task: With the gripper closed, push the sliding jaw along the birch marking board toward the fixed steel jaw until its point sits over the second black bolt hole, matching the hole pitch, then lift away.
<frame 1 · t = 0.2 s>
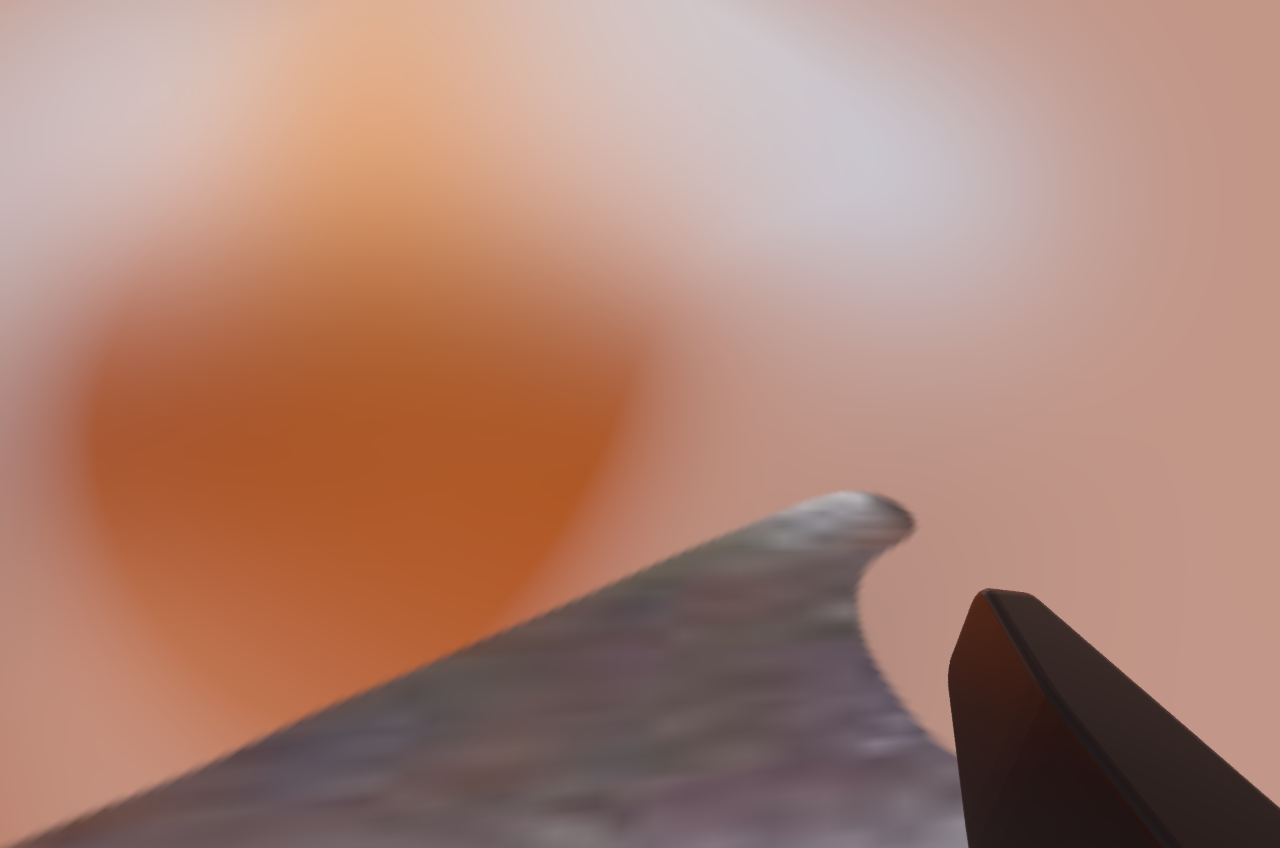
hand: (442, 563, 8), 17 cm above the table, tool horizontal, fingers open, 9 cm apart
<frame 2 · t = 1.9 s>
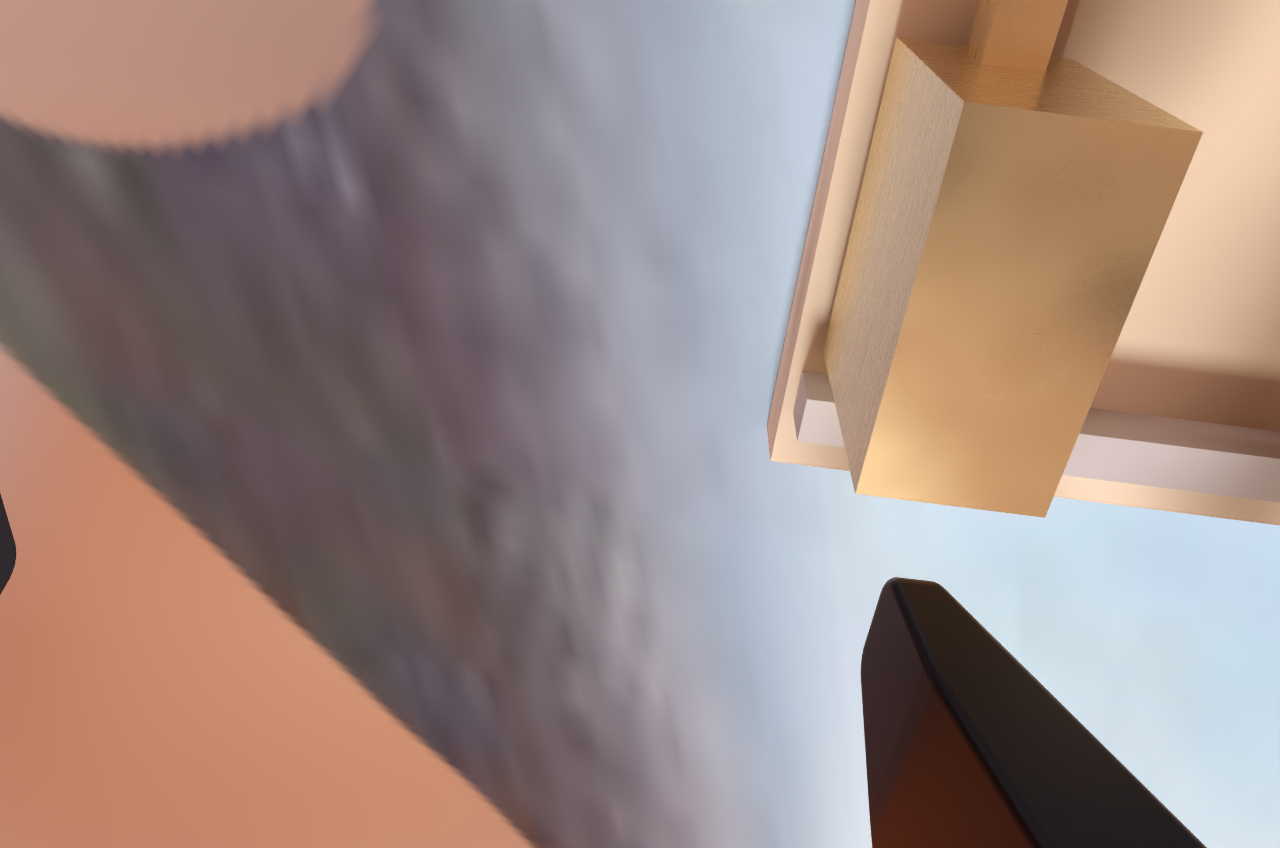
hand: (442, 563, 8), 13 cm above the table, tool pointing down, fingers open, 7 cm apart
sliding jaw: (1005, 145, 14), point 4 cm above the table, slide at 0.0 cm
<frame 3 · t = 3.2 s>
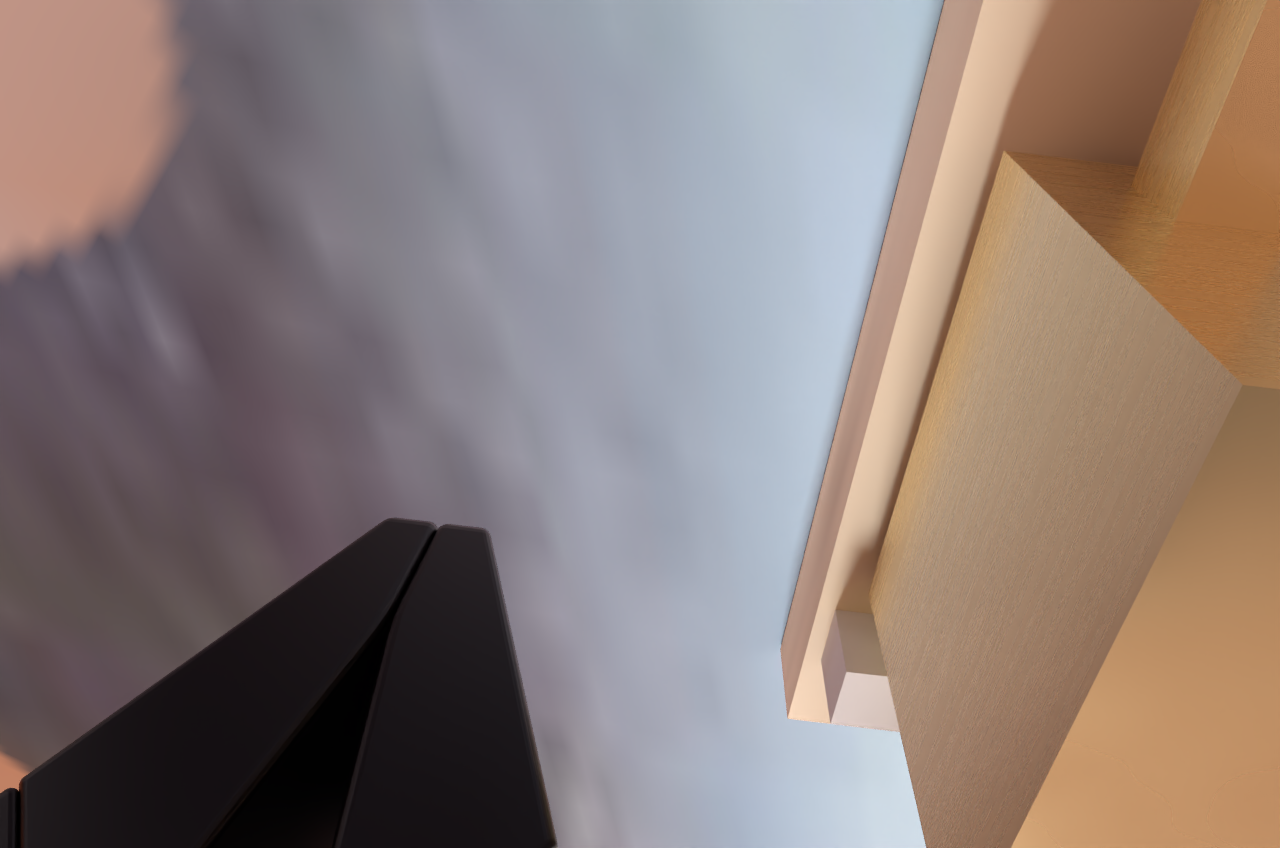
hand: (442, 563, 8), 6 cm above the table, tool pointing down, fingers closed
sliding jaw: (1221, 367, 8), point 4 cm above the table, slide at 0.0 cm
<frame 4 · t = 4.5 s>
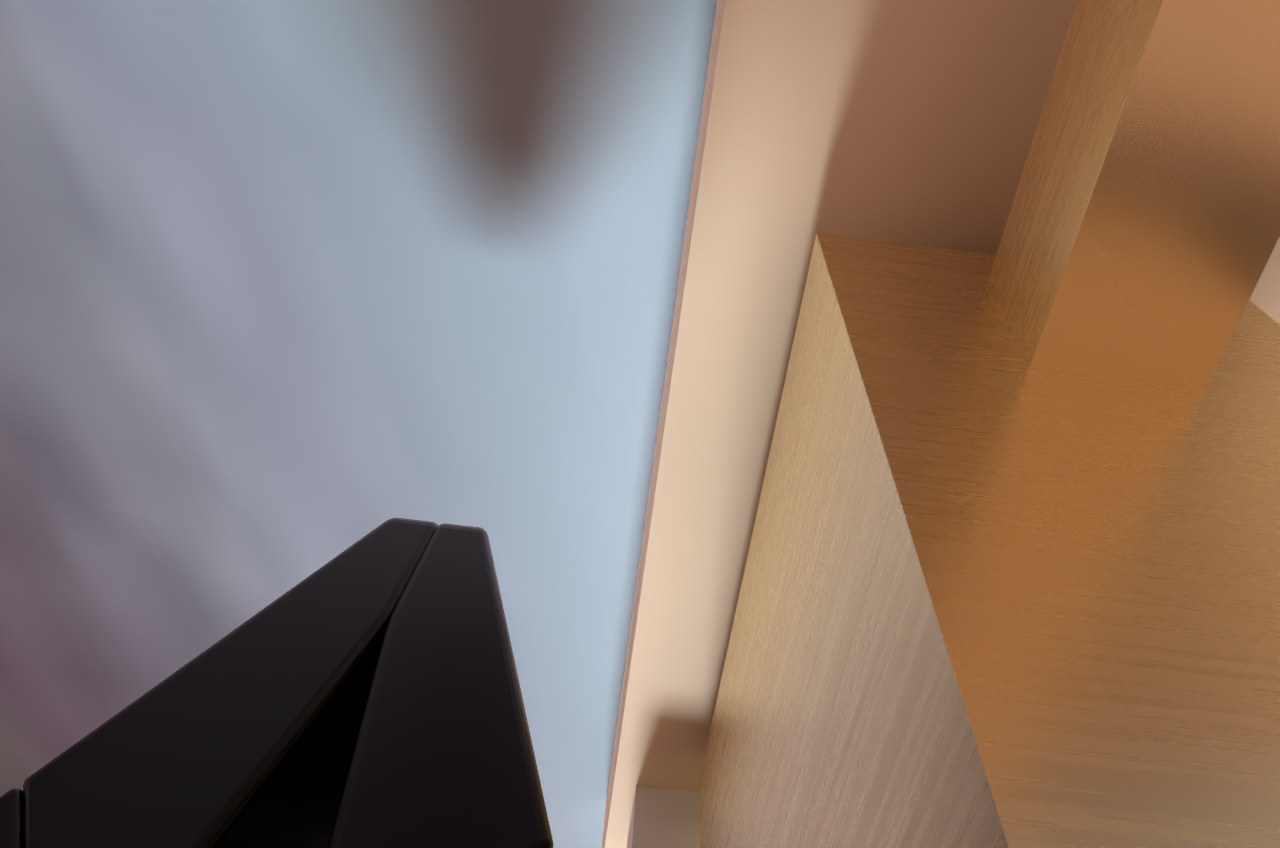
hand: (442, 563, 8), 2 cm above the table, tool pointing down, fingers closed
sliding jaw: (1099, 597, 5), point 4 cm above the table, slide at 0.4 cm, touching gripper
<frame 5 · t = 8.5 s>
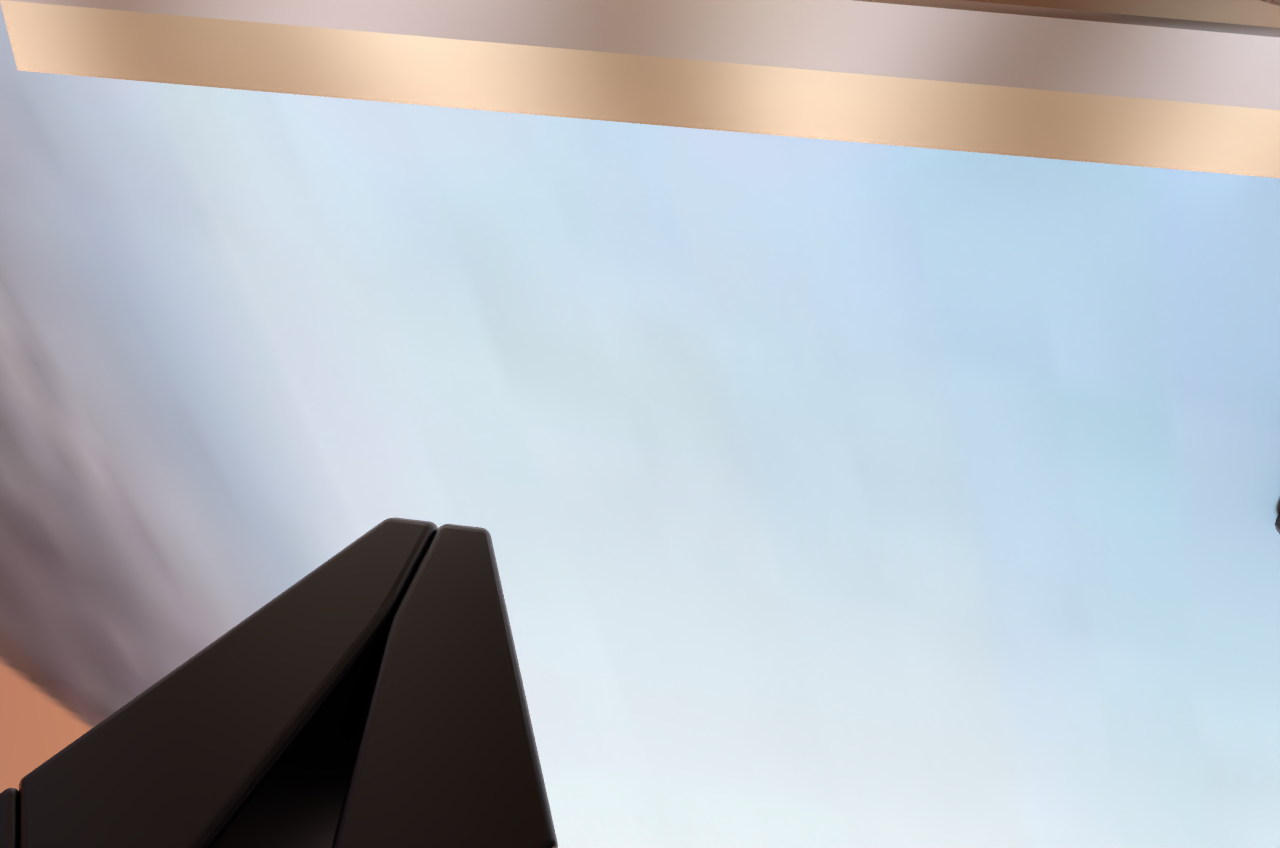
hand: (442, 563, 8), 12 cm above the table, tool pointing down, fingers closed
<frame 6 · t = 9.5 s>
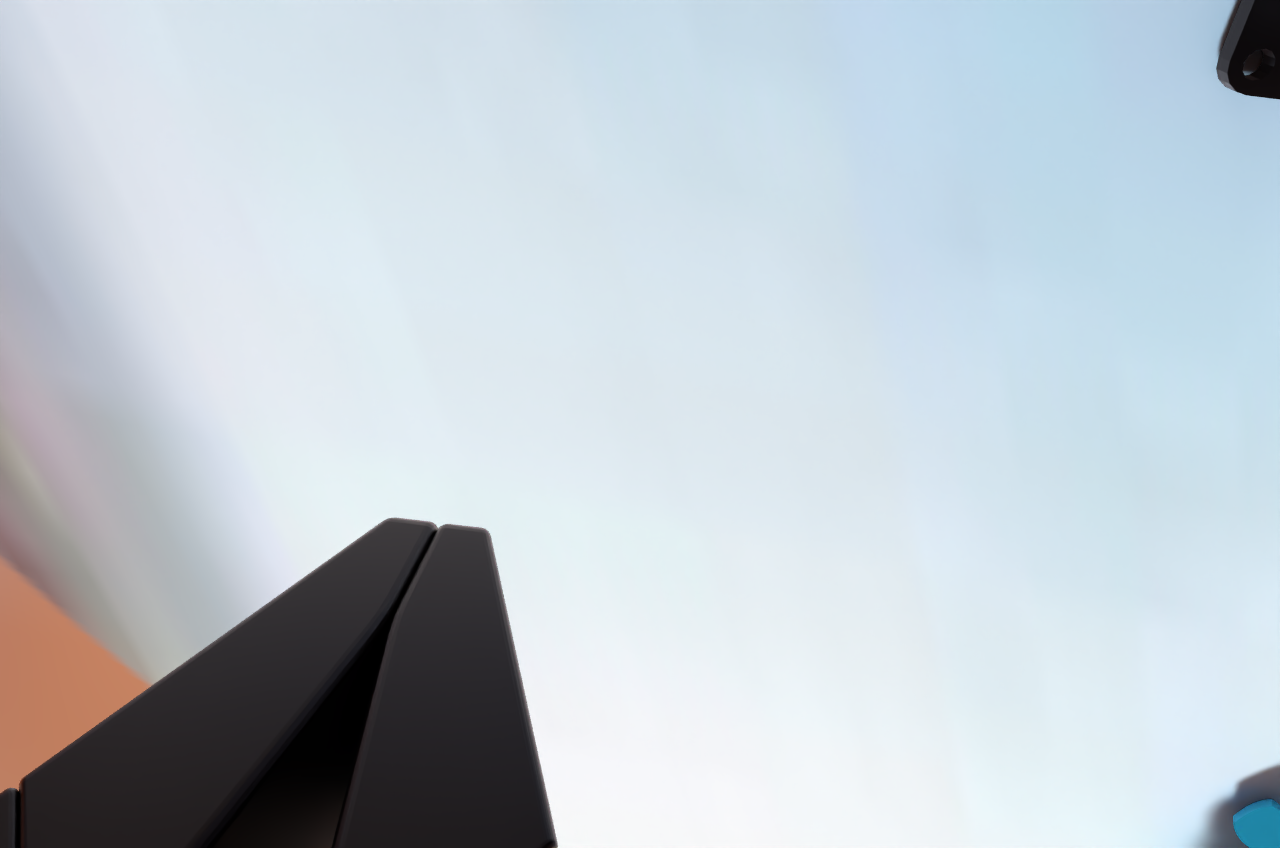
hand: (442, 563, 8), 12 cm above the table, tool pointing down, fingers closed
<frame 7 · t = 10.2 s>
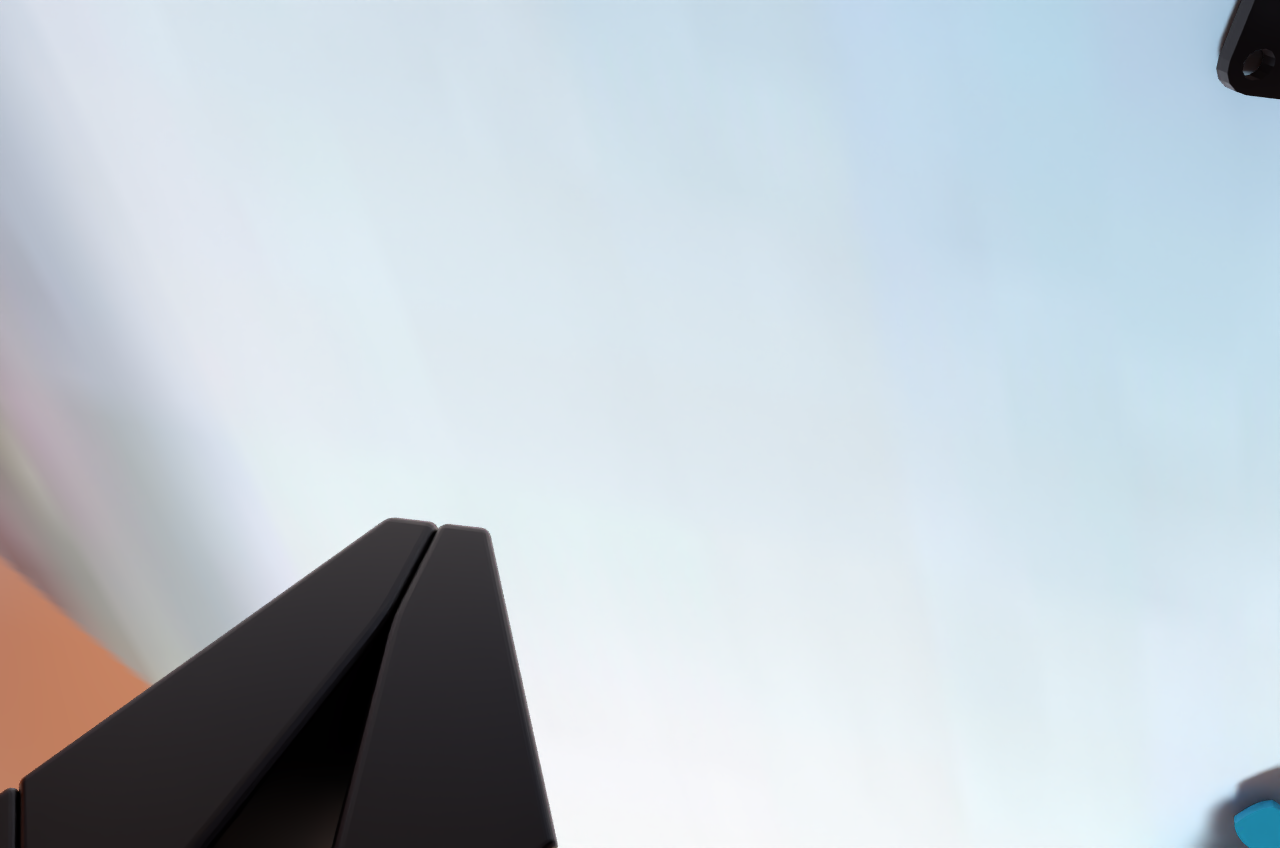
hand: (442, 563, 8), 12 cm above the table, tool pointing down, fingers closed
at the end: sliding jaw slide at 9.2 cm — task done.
